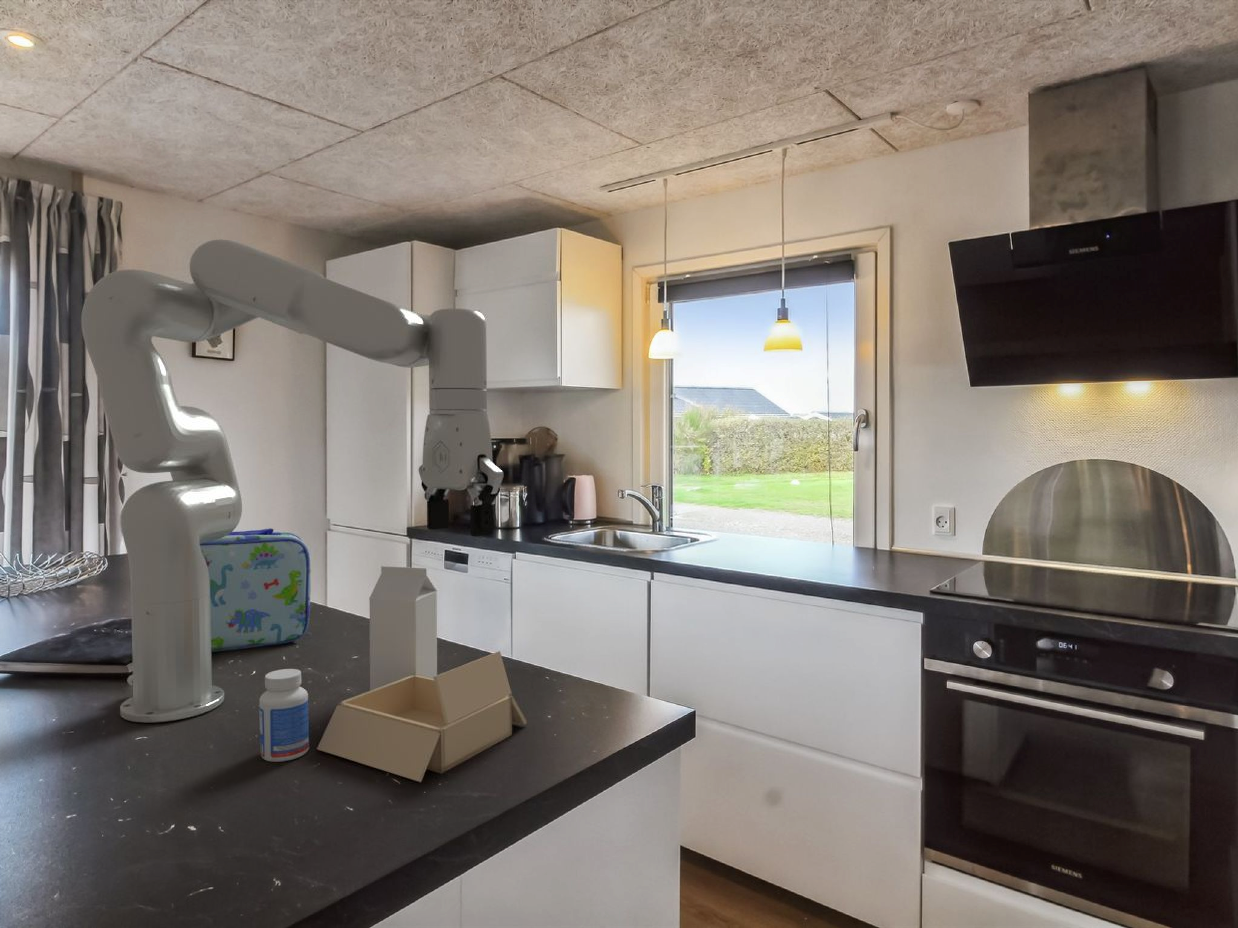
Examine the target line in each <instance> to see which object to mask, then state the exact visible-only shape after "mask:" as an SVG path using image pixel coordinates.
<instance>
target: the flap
mask: <svg viewBox="0 0 1238 928" xmlns="http://www.w3.org/2000/svg"><path fill="white" fill-rule="evenodd" d="M433 678H434V682H435V685H436V689H437V693H438V697H439V701H440V704H441V708H442V712H443V716H444V720H445V723H446V724H449V723H451V722H453V721H455V720H457V719H459V718H461V717H464V716H466V715H468V714H470V713H472V712H474V711H476V710H478V709H480V708H482V707H485V706H487V705H489V704H491V703H493V702H495V701H497V700H499V699H501V698H503V697H506V696H508V695H510V696H511V695H512V690H511V686H510V683H509V680H508V675H507V672H506V668H505V665H504V661H503V658H502V653H501V650H499V651H496V652H493V653H491V654H489V655H486V656H483V657H481V658H478V659H476V660H473V661H470V662H468V663H465V664H463V665H461V666H458V667H455V668H452V669H450V670H447V671H445V672H442V673H439V674H437V676H434V677H433Z"/></svg>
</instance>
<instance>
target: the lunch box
mask: <svg viewBox="0 0 1238 928" xmlns="http://www.w3.org/2000/svg"><path fill="white" fill-rule="evenodd" d="M200 548H201V551H202V554H203V556H204V558H205V561H206V564H207V567H208V571H209V578H210V603H211V653H215V652H217V653H218V652H222V651H223V652H224V651H225V652H226V651H233V650H234V651H235V650H240V649H247V648H248V649H249V648H258V647H264V646H271V645H272V646H273V645H280V644H281V645H282V644H286V643H291V642H294V641H296V640H298V639H300V638H301V637H303V636H304V635H305V634H306V632H307V630H308V627H309V624H310V623H309V622H310V613H311V612H310V611H311V594H312V593H311V591H312V589H311V588H312V585H311V584H312V580H311V579H312V578H311V576H312V575H311V572H312V571H311V570H312V568H311V556H310V551H309V548H308V546H307V545H306V543H305V542H304V541H303V540H302V538H301V537H300V536H298V535H296V534H294V533H291V532H282V531H281V532H278V531H277V532H275V531H274V528H269V527H268V528H264V529H257V530H256V529H255V530H243V531H232V532H231V533H230V534H228V535H227V536H225V537H223V538H220V539H217V540H213V541H210V542H206V543H201V544H200Z"/></svg>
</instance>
